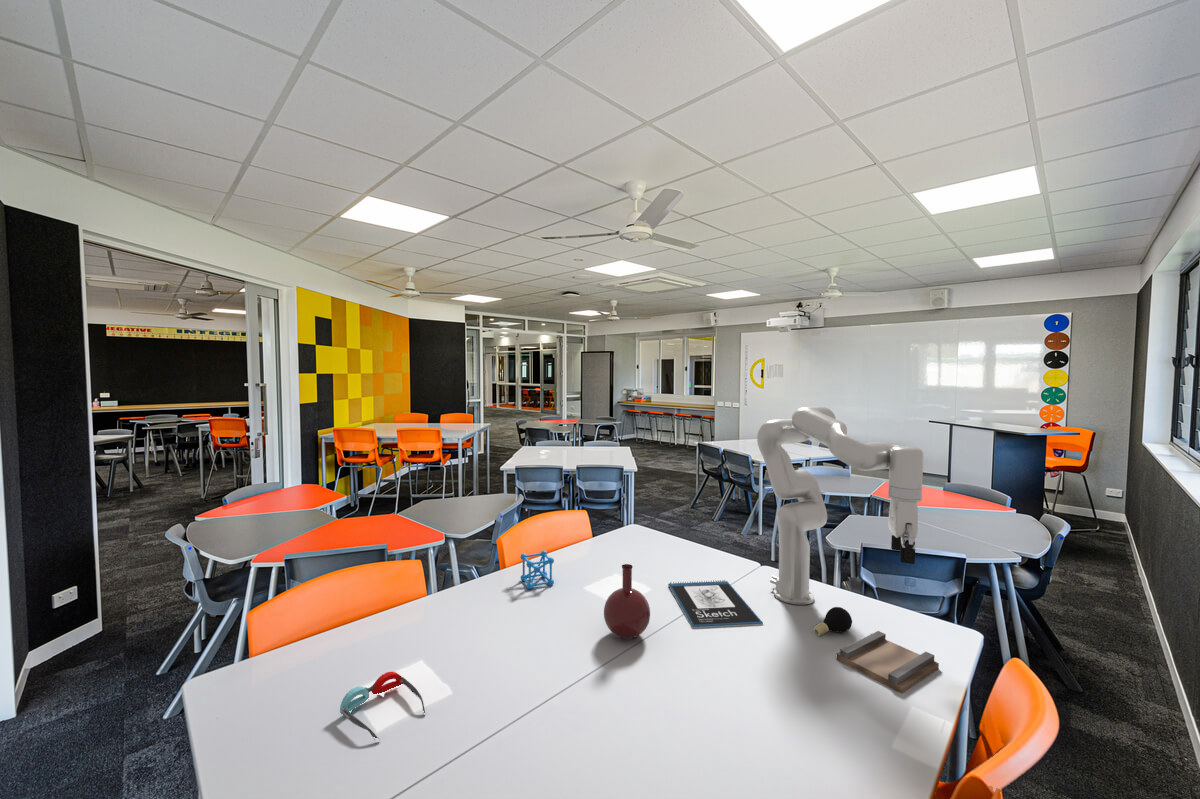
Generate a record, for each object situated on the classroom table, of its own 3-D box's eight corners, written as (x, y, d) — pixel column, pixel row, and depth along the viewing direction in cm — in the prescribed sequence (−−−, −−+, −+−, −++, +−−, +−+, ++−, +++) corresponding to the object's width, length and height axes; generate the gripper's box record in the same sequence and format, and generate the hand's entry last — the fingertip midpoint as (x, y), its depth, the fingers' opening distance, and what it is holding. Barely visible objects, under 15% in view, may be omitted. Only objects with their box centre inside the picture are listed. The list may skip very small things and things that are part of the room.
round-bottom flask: (595, 640, 133) (595, 569, 133) (616, 620, 145) (616, 554, 144) (639, 653, 127) (639, 579, 126) (656, 630, 139) (657, 562, 138)
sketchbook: (692, 630, 140) (692, 623, 140) (667, 586, 170) (667, 581, 170) (763, 626, 142) (763, 619, 142) (726, 584, 172) (726, 578, 172)
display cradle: (836, 659, 125) (836, 647, 125) (874, 639, 134) (874, 629, 134) (901, 693, 111) (901, 680, 111) (938, 668, 121) (938, 657, 121)
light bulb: (815, 618, 135) (847, 601, 139) (803, 621, 141) (833, 605, 145) (829, 642, 132) (861, 625, 136) (816, 645, 138) (847, 628, 142)
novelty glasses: (398, 686, 114) (398, 665, 114) (433, 713, 104) (433, 691, 104) (336, 717, 103) (336, 695, 103) (369, 751, 94) (369, 726, 94)
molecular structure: (519, 580, 174) (519, 553, 174) (545, 575, 178) (545, 549, 178) (527, 591, 165) (527, 562, 165) (555, 586, 169) (554, 558, 169)
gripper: (881, 485, 137) (879, 544, 138) (896, 499, 121) (893, 566, 121) (912, 487, 134) (910, 547, 135) (931, 502, 118) (928, 570, 119)
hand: (902, 556), depth 128 cm, fingers open, 9 cm apart
